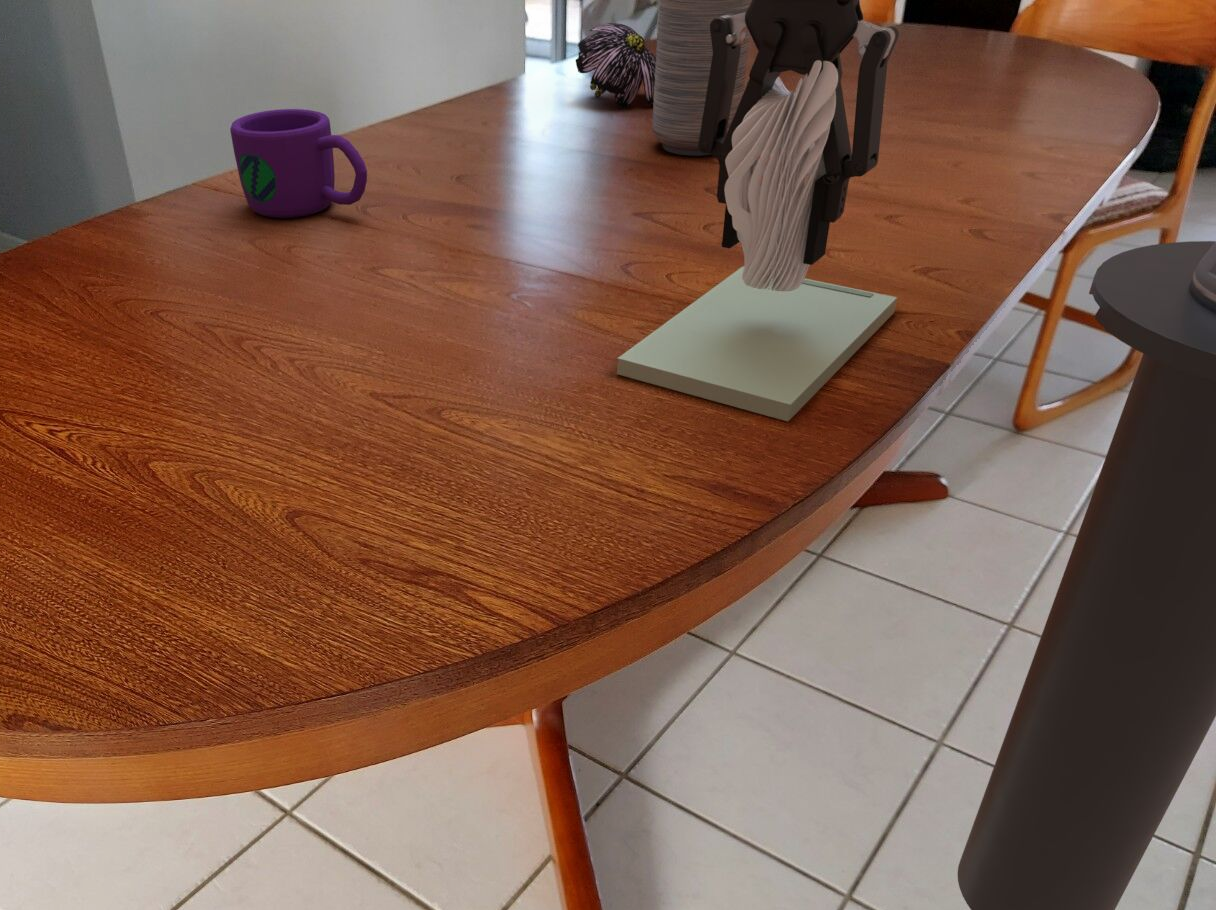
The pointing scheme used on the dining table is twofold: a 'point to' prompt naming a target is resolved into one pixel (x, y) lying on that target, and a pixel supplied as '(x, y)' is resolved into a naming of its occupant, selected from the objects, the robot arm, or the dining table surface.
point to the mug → (292, 162)
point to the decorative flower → (618, 63)
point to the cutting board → (759, 343)
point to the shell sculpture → (779, 176)
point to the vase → (689, 70)
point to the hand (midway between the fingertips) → (772, 250)
